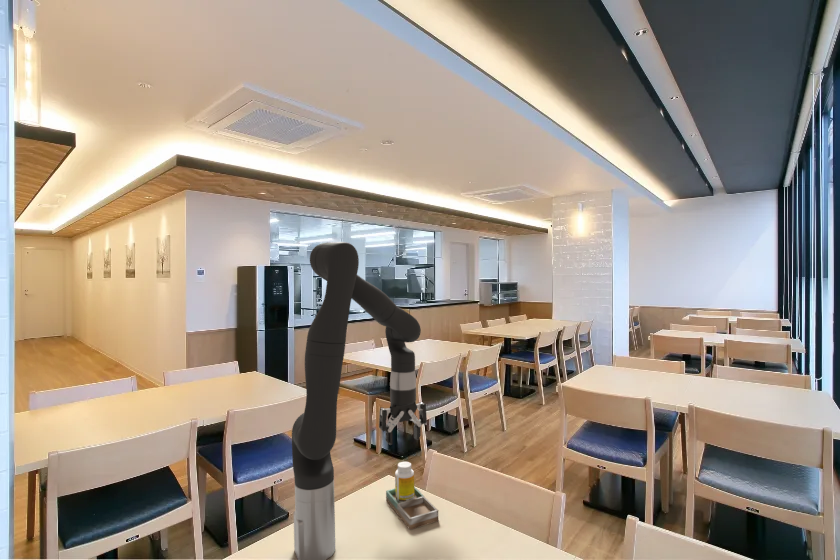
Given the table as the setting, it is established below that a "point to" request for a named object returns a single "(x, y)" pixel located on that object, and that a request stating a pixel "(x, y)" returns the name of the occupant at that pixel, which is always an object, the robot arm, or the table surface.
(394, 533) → the table surface
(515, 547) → the table surface
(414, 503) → the divided sorting tray
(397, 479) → the supplement bottle
